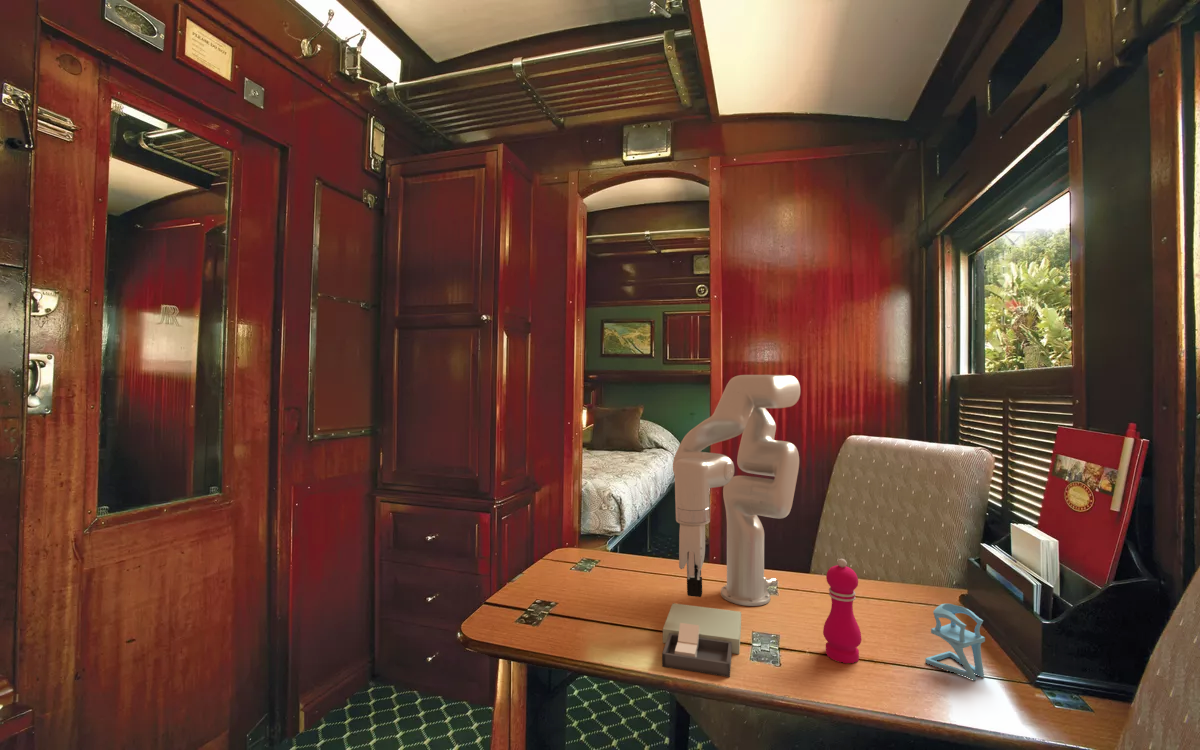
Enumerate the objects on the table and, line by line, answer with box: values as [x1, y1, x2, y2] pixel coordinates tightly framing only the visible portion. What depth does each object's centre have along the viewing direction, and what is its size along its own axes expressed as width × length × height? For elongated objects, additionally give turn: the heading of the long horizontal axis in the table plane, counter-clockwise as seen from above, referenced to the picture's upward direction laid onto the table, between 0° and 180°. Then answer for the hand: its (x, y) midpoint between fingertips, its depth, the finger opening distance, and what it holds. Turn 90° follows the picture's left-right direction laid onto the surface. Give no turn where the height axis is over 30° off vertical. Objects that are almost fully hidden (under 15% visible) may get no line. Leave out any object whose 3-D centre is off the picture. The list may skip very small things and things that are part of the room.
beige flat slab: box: [662, 602, 742, 655], centre depth 119 cm, size 14×16×3 cm
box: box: [661, 633, 733, 678], centre depth 107 cm, size 9×13×2 cm
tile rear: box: [678, 623, 700, 649], centre depth 111 cm, size 4×4×2 cm
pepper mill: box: [822, 558, 862, 664], centre depth 110 cm, size 7×7×20 cm
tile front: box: [675, 642, 697, 657], centre depth 107 cm, size 4×4×2 cm
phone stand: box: [924, 603, 986, 681], centre depth 105 cm, size 8×8×12 cm
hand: (694, 594), depth 119 cm, fingers closed
